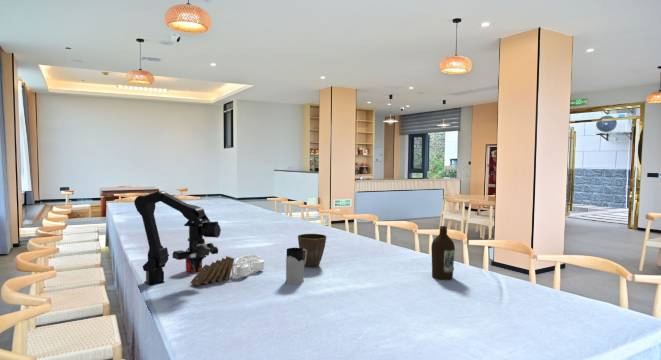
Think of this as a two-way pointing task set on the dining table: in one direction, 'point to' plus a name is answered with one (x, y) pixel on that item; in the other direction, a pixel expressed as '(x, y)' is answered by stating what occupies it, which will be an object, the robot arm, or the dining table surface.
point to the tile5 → (228, 268)
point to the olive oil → (442, 256)
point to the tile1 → (201, 275)
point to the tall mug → (295, 265)
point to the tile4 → (223, 269)
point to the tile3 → (217, 271)
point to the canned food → (189, 266)
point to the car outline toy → (246, 266)
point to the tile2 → (211, 273)
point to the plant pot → (312, 248)
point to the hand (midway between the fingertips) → (196, 272)
